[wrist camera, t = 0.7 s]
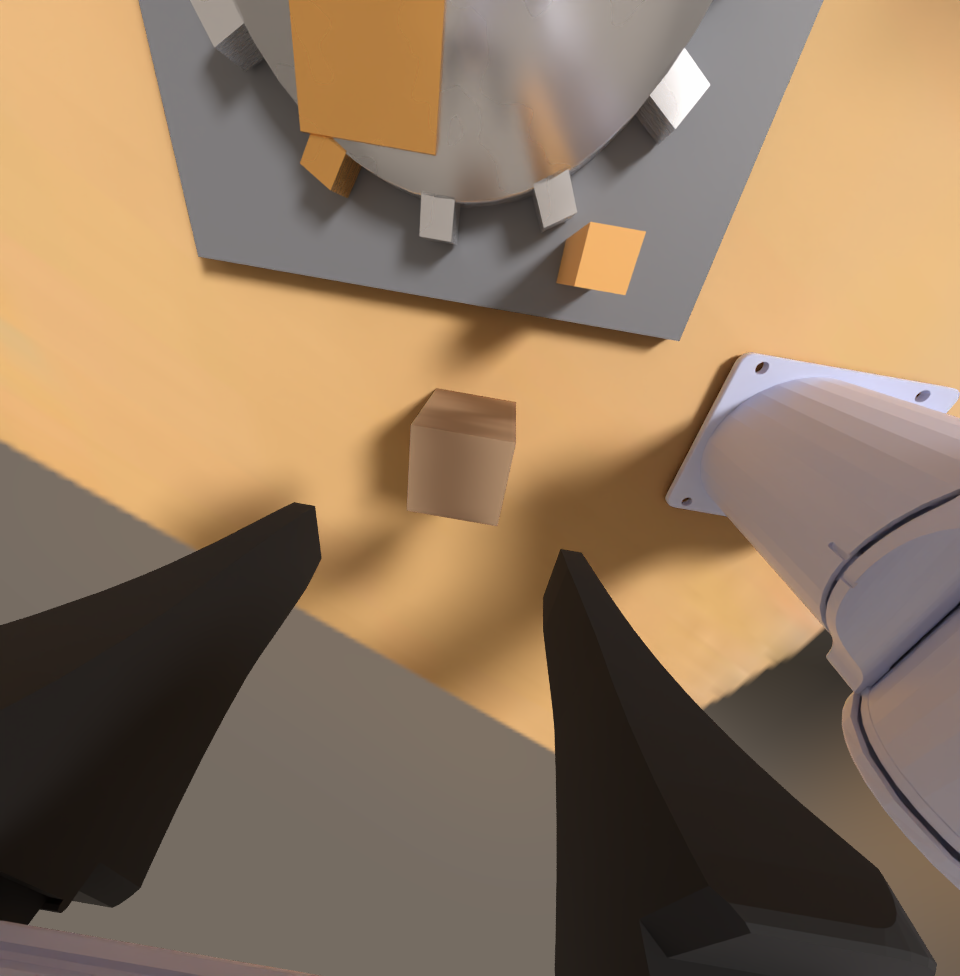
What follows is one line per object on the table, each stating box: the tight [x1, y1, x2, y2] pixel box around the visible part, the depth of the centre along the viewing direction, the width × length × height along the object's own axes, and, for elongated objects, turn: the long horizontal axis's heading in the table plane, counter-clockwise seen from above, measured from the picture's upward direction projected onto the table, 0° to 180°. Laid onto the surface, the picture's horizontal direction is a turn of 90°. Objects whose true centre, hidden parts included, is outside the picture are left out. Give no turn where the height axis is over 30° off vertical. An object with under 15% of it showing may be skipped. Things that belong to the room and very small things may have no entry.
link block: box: [407, 388, 516, 526], centre depth 16 cm, size 4×4×5 cm
